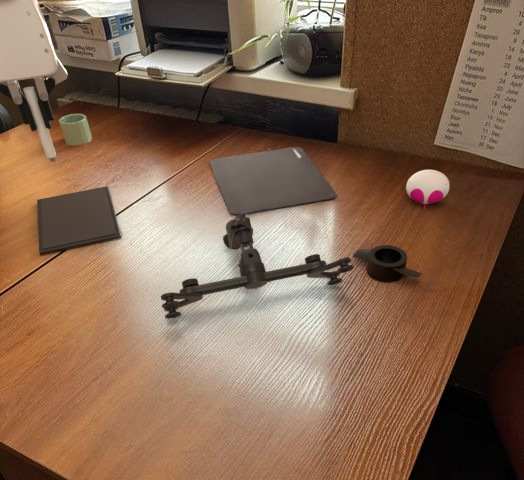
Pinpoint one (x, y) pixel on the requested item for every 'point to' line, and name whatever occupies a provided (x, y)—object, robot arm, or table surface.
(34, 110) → the stylus
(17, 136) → the table surface
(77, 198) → the tablet
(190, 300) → the tablet mount
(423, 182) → the stress ball
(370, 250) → the black winged ring
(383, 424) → the table surface
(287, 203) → the mouse pad
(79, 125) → the pen cup
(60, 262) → the table surface
